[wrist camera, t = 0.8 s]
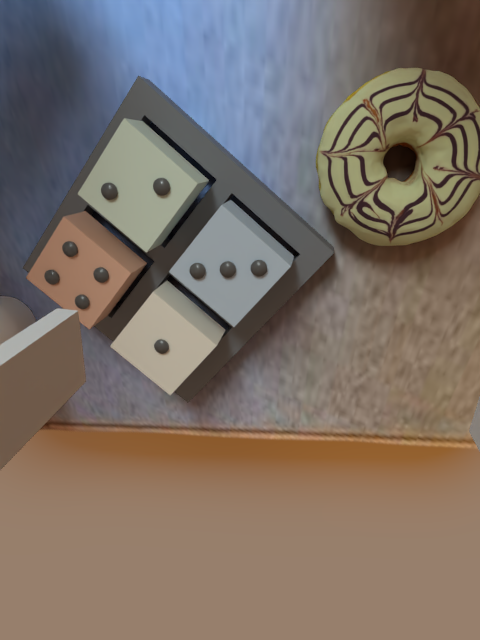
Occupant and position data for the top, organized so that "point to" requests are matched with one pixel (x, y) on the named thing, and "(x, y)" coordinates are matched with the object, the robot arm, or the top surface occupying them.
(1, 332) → the mug
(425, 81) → the decorated donut
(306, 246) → the keypad board
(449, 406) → the top surface
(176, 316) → the tile
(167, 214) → the tile
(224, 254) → the tile
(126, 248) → the tile
